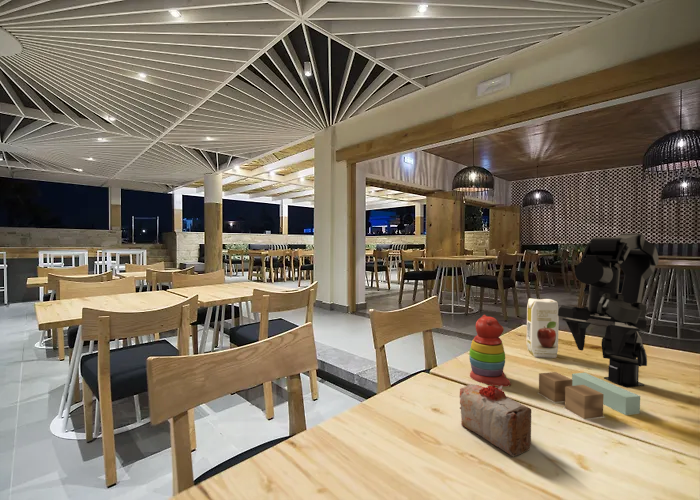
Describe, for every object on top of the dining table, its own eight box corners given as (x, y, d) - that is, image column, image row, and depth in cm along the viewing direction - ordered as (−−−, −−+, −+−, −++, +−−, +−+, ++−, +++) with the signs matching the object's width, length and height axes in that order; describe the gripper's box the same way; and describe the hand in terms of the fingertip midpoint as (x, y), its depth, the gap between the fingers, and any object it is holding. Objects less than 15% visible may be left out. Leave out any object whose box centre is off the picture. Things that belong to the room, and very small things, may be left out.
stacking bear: (512, 389, 90) (513, 321, 90) (472, 385, 92) (472, 319, 92) (502, 373, 101) (503, 313, 100) (466, 371, 103) (467, 311, 103)
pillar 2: (582, 405, 80) (583, 384, 80) (603, 416, 75) (603, 394, 75) (564, 408, 79) (565, 386, 79) (584, 419, 74) (584, 396, 74)
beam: (571, 388, 90) (572, 373, 89) (584, 387, 90) (584, 372, 90) (625, 415, 76) (625, 397, 76) (639, 413, 77) (640, 395, 77)
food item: (453, 424, 73) (453, 378, 73) (479, 415, 77) (480, 372, 76) (509, 461, 61) (510, 405, 61) (537, 448, 65) (538, 396, 64)
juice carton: (524, 350, 122) (525, 297, 122) (550, 351, 121) (551, 298, 121) (532, 357, 115) (533, 301, 114) (560, 359, 114) (561, 301, 113)
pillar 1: (555, 391, 88) (555, 371, 88) (572, 400, 83) (572, 379, 83) (538, 393, 87) (539, 373, 87) (554, 402, 82) (554, 381, 82)
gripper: (594, 284, 75) (588, 356, 74) (672, 295, 77) (667, 366, 76) (559, 282, 86) (553, 345, 85) (627, 292, 88) (623, 353, 87)
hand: (598, 352), depth 83 cm, fingers open, 9 cm apart
